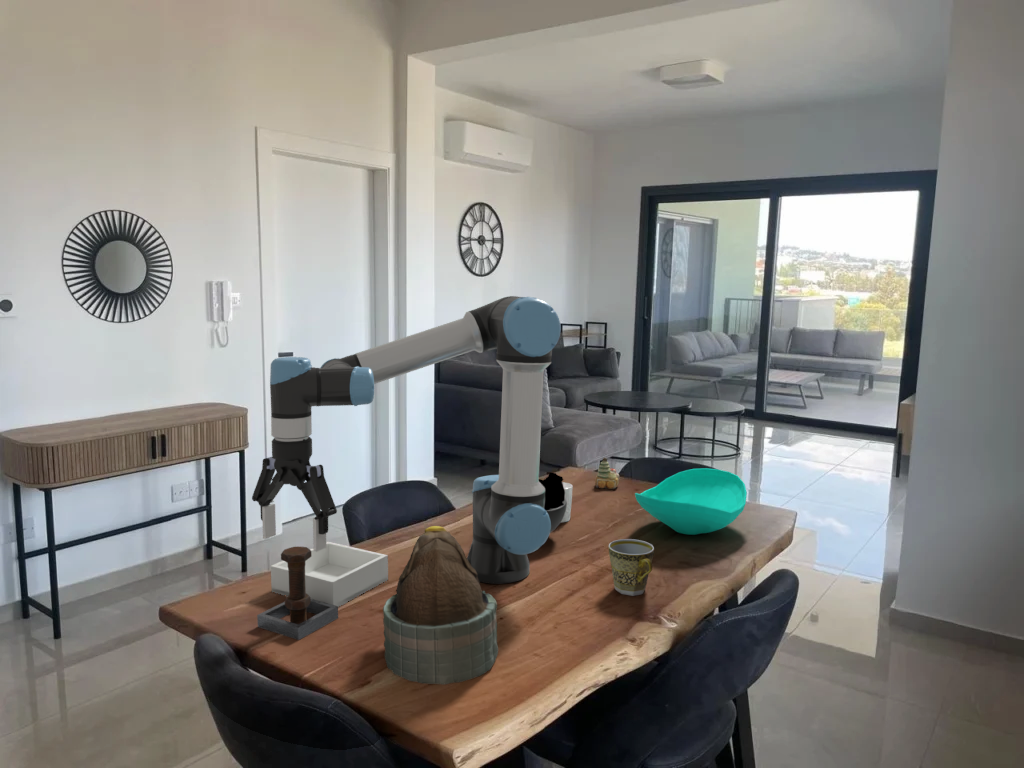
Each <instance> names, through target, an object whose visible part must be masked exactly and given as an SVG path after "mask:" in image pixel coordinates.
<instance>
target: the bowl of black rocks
mask: <svg viewBox="0 0 1024 768" xmlns="http://www.w3.org/2000/svg"><path fill="white" fill-rule="evenodd" d="M563 481H564V478H563V476H561V475H558V474H557V473H556V472H549V473H548V476H547V477H545V478H544V479H540V478H539V482H540V483H541V484H542V485H543V487H544V488H545V505H544V509H545V510H546V511H547V513H548V515H549V518H550V521H551V530H550V534H551V533H553V531H555V530H556V529H557V528H558V526H559V525H560V524H561V523H562V522H561V521H562V519H563V517H564V514H565V511H566V506H567V502H566V500H565V490H564V487H563V483H562V482H563ZM560 522H561V523H560Z"/></svg>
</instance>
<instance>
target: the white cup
mask: <svg viewBox="0 0 1024 768" xmlns="http://www.w3.org/2000/svg"><path fill="white" fill-rule="evenodd" d="M562 483H563V487H564V490H565V500H566V502H567V506H566V511H565V514H564V517H563V519H562V521H561V522H560V524H561V523H566V522H569V521H570V520H571V509H572V503H573V502H572V500H573V484H571V483H569V482H563V481H562Z"/></svg>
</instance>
